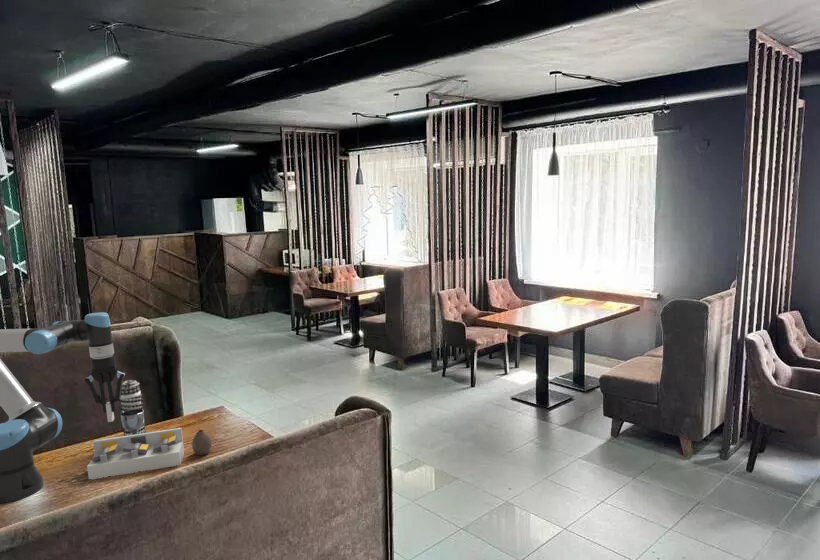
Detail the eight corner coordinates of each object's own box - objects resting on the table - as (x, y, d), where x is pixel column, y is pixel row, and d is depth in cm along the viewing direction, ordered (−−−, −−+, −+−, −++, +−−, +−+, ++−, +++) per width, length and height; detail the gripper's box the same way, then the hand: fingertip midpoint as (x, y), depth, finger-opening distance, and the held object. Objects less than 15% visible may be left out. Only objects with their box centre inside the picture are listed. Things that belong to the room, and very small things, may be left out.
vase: (196, 458, 208) (194, 436, 207) (190, 453, 213) (188, 431, 212) (215, 452, 212) (212, 430, 211) (208, 447, 217) (206, 425, 216)
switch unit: (88, 480, 195) (85, 452, 194) (97, 466, 206) (94, 440, 205) (180, 465, 203) (177, 438, 202) (184, 452, 214) (181, 427, 212)
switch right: (154, 453, 203) (152, 448, 202) (156, 447, 207) (154, 443, 207) (176, 444, 204) (174, 439, 204) (178, 439, 209) (176, 434, 209)
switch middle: (122, 452, 200) (123, 447, 200) (125, 447, 204) (126, 441, 204) (146, 454, 202) (147, 449, 202) (148, 449, 207) (149, 443, 207)
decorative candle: (131, 447, 222) (124, 386, 219) (118, 443, 227) (110, 383, 224) (152, 438, 230) (145, 379, 227) (139, 434, 235) (132, 377, 231)
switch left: (93, 462, 197) (91, 457, 197) (97, 456, 202) (95, 452, 202) (116, 453, 199) (114, 448, 199) (120, 447, 204) (117, 443, 204)
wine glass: (138, 453, 216) (134, 416, 214) (120, 452, 217) (115, 415, 215) (152, 444, 223) (147, 408, 221) (134, 444, 225) (130, 408, 223)
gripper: (78, 361, 192) (87, 427, 195) (120, 356, 195) (128, 421, 198) (85, 356, 199) (93, 419, 202) (125, 351, 202) (133, 414, 205)
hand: (111, 420), depth 200 cm, fingers closed
